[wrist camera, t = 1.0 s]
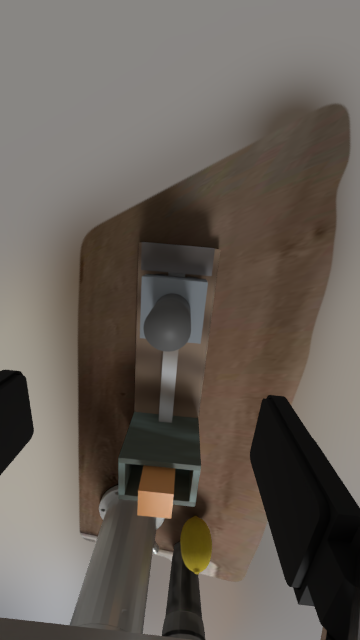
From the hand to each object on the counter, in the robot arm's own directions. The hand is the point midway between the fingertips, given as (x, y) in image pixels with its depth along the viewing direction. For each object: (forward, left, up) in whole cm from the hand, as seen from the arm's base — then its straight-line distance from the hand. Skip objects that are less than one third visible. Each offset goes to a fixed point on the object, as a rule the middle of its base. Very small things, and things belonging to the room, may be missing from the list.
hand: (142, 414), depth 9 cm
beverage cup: (-48, +21, -23) cm, 57 cm away
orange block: (-19, +11, -15) cm, 26 cm away
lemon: (-40, +15, -23) cm, 49 cm away
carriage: (0, 0, -20) cm, 20 cm away
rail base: (-8, +5, -23) cm, 24 cm away
